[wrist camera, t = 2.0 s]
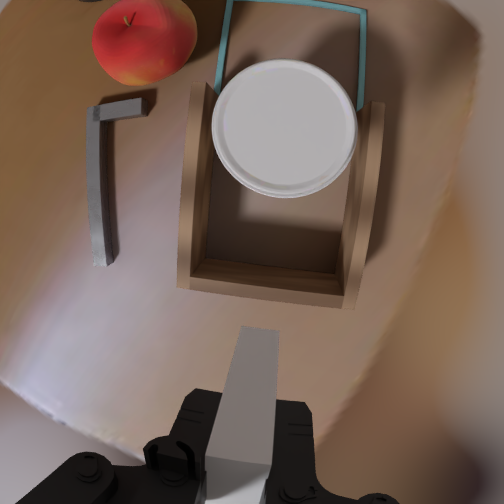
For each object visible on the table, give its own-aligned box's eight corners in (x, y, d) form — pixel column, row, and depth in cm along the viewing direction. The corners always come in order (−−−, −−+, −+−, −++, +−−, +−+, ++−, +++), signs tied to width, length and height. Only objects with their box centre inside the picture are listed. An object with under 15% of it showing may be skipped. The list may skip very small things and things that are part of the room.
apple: (200, 95, 29) (166, 68, 19) (119, 96, 30) (66, 78, 20) (213, 16, 26) (189, -31, 17) (134, 22, 27) (91, -14, 17)
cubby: (208, 96, 29) (192, 81, 23) (367, 114, 28) (385, 103, 22) (194, 267, 34) (176, 287, 28) (343, 285, 33) (354, 309, 27)
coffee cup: (276, 78, 28) (272, 29, 16) (350, 137, 29) (388, 120, 17) (217, 147, 30) (179, 137, 19) (290, 207, 31) (295, 230, 20)
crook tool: (95, 109, 30) (87, 107, 29) (148, 100, 30) (141, 97, 28) (101, 261, 35) (94, 265, 33) (152, 263, 34) (146, 268, 33)
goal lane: (228, -3, 26) (227, -5, 25) (365, 11, 25) (366, 10, 24) (214, 96, 29) (213, 95, 29) (361, 113, 28) (362, 112, 28)
